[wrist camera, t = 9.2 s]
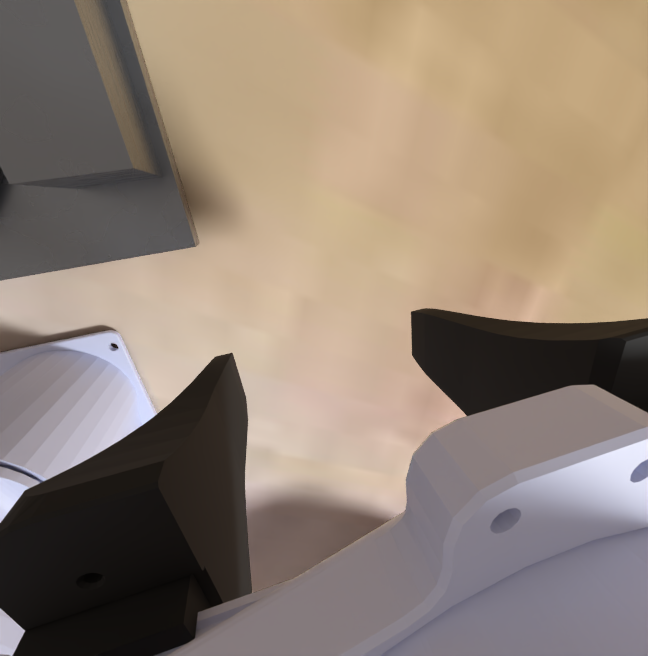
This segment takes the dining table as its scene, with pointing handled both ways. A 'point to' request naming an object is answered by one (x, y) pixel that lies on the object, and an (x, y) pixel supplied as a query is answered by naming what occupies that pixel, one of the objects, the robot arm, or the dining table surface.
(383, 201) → the dining table surface
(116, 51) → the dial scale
